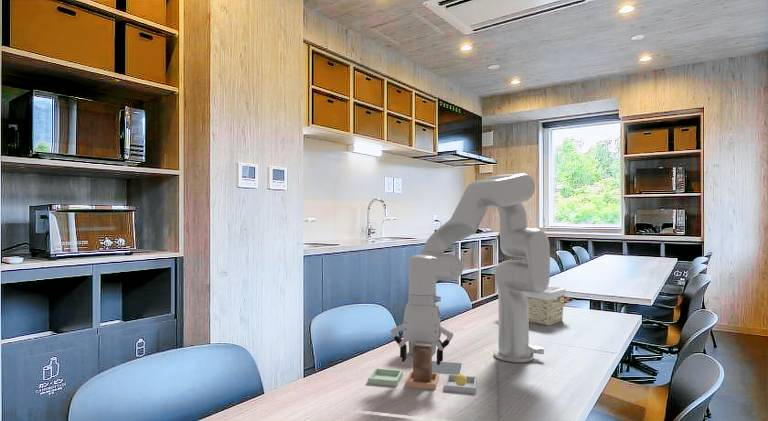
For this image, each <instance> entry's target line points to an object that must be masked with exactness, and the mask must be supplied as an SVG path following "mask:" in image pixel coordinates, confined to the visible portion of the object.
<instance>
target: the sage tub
mask: <svg viewBox="0 0 768 421" xmlns="http://www.w3.org/2000/svg"><path fill="white" fill-rule="evenodd" d="M403 376H404V370H403V369H393V368H392V369H390V368H381V367H375V368H374V369H373V370H372V372H371V373H370V375H369V376H368V378H367V384H370V385H379V386H381V385H382V386H389V387H390V386H392V387H398V385H399V384H400V381H401V379H402V378H403Z"/></svg>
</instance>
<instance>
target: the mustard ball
mask: <svg viewBox="0 0 768 421" xmlns="http://www.w3.org/2000/svg"><path fill="white" fill-rule="evenodd" d="M466 376H467V375H465V374H462V373H460V374H458V375H457V376H456V377H455V382H456V384H457V385H458V386H464V385H465V384H466V383H467V378H466Z"/></svg>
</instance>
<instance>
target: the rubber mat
mask: <svg viewBox="0 0 768 421" xmlns="http://www.w3.org/2000/svg"><path fill="white" fill-rule="evenodd" d="M462 365H463V364H462V363H461V362H450V361H449V362H448V361H441V362H440V365H437V360H436V361H435V360H432V373H439V374H443V375H447V374H453V375H458V374H461V369H462Z"/></svg>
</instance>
